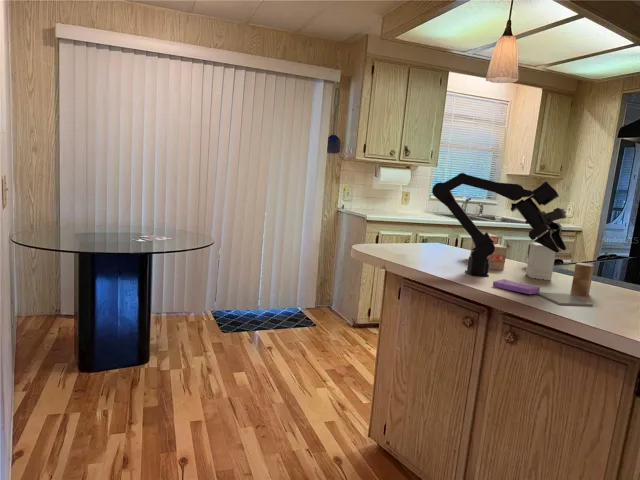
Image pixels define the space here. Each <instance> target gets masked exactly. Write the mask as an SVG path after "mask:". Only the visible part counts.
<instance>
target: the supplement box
mask: <svg viewBox="0 0 640 480" xmlns="http://www.w3.org/2000/svg"><path fill="white" fill-rule="evenodd" d="M529 244H530V250H529V257H528V256H527V266H526V270H525V271H526V272H525V275H527V276H528V277H529V278H530V279H535V278H536V279H537V280H543V279H544V280H545V281H551V280H552V278H553V277H552V276H553V271H554V266H555V265H554V264H555V259H556V252H554V251H552V250H550V249H549V248H547V247H545V246H543V245H541V244H539V243H537V242H530V243H529ZM536 279H535V280H536Z"/></svg>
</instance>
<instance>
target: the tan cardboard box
mask: <svg viewBox="0 0 640 480" xmlns="http://www.w3.org/2000/svg"><path fill="white" fill-rule="evenodd" d="M482 232H483V231H482ZM483 233H485V231H484V232H483ZM488 234H489V236H490V237H491V238H492V239H494V242H493V243H494V246H495V251H494V252H493V254H491V255H489V256H488V257H487V259H489V261H488V263H489V269H488V270H501V271H503V270H504V269H505V265H506V264H505V263H506V257H507V253H508V247H506V246H505V245H502V244H499V236H498V235H494V234H491V233H488ZM470 247H471V248H470V251H471V250H472V249H473V248H475V247H476V246H475V244H474V242H473V240H472V239H471V246H470ZM469 257H471V252H470V253H469Z"/></svg>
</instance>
